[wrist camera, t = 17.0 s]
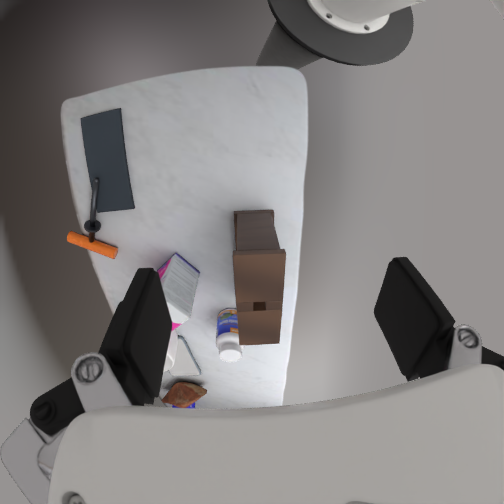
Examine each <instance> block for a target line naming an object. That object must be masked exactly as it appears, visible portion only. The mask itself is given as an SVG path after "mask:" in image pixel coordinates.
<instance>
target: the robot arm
mask: <svg viewBox="0 0 504 504" xmlns="http://www.w3.org/2000/svg"><path fill="white" fill-rule="evenodd" d="M423 1H426V0H307V2H308V4H309V5H310V7H311V8H312V10H313V11H314V12H315V13H316V14H317V15H318V16H319V17H320V18H321V19H322V20H324V21H325V22H326V23H328V24H330V25H331V26H333V27H335V28H337V29H339V30H342V31H345V32H348V33H354V34H367V33H372V32H374V31H377V30H379V29H381V28H382V27H383V26H384V25H385V24H386V23H387V21H388V19H389V15H390V13H393V12H395V11H398V10H400V9H403V8H406V7H408V6H411V5H414V4H417V3H420V2H423ZM489 1H490V2H491V3H492V4H493V6H494V7H495V8H496V10H497V11H498V12H499V14H500V15H501V17H502V18H503V19H504V0H489ZM326 16H328V17H329V18H327V17H326ZM364 28H365V29H366V30H365V29H364ZM374 315H375V318H376V320H377V322H378V323H379V326H380V328H381V330H382V332H383V334H384V336H385V338H386V340H387V342H388V344H389V347H390V349H391V351H392V353H393V355H394V357H395V360H396V362H397V364H398V366H399V369H400V371H401V373H402V374H403V375H404V376H406V379H407V381H411V380H414V381H411V382H408V383H404V384H401V385H397V386H393V387H389V388H385V389H382V390H377V391H373V392H369V393H364V394H359V395H354V396H349V397H344V398H338V399H332V400H327V401H320V402H313V403H305V404H296V405H287V406H276V407H262V408H242V409H192V408H169V407H150V406H144V403H146V404H153V403H154V398H155V397H158V396H159V392H160V387H161V381H162V376H163V370H164V365H165V360H166V355H167V350H168V345H169V340H170V336H171V331H172V319H171V316H170V313H169V309H168V306H167V302H166V299H165V295H164V291H163V288H162V284H161V280H160V276H159V273H158V272H157V271H154V269H153V268H139V269H138V270H137V272H136V274H135V276H134V278H133V280H132V282H131V284H130V286H129V289H128V291H127V293H126V295H125V297H124V300H123V301H121V302H120V303H119V305H118V307H117V309H116V311H115V313H114V316H113V318H112V320H111V323H110V325H109V327H108V330H107V333H106V335H105V337H104V340H103V342H102V345H101V347H100V350H99V353H96V352H89V353H86V354H83V355H82V356H80V357H79V358H78V359H77V360H76V361H75V362H74V364H73V366H72V370H71V375H72V377H71V378H70V379H68V380H66V381H65V382H63V383H61V384H60V385H58V386H56V387H55V388H53V389H51V390H50V391H48V392H46V393H45V394H43V395H41V396H40V397H38V398H37V399H36V400H35V401H34V402H33V404H32V406H31V409H30V419H29V420H28V419H27V418H25V419H24V420H23V421H22V422H21V423H20V425H19V426H18V427H17V428H16V429H15V430H14V431H13V433H12V434H11V435H10V436H9V437H8V438H7V439H6V441H5V442H4V443H3V444H2V446H1V449H0V457H1V460H2V463H3V464H4V466H5V467H6V469H7V471H8V472H9V474H10V475H11V477H12V478H13V480H14V481H15V483H16V484H17V486H18V487H19V488H20V490H21V491H22V493H23V494H24V495H25V497H26V498H27V499H28V501H29V502H30V503H31V504H504V356H501V355H499V354H497V353H495V352H493V351H491V350H489V349H487V348H485V347H483V346H482V340H481V337H480V335H479V333H478V332H477V331H476V330H475V329H474V328H472V327H471V326H469V325H465V324H463V325H462V324H461V325H458V326H457V327H456V328H454V327H453V325H454V323H455V320H454V318H453V317H452V316H451V314H450V313H449V311H448V310H447V309H446V307H445V306H444V304H443V303H442V301H441V300H440V299H439V297H438V296H437V295H436V293H435V292H434V291H433V290H432V288H431V287H430V285H429V284H428V283H427V282H426V280H425V279H424V278H423V277H422V275H421V274H420V273H419V271H418V270H417V269H416V268H415V267H414V265H413V264H412V263H411V262H410V261H409V259H408V258H407V257H396V258H393V260H392V261H391V262H390V263H389V264H388V268H387V271H386V275H385V278H384V281H383V284H382V287H381V290H380V293H379V296H378V300H377V302H376V305H375V308H374ZM418 377H420V379H418ZM415 379H418V380H415Z"/></svg>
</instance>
